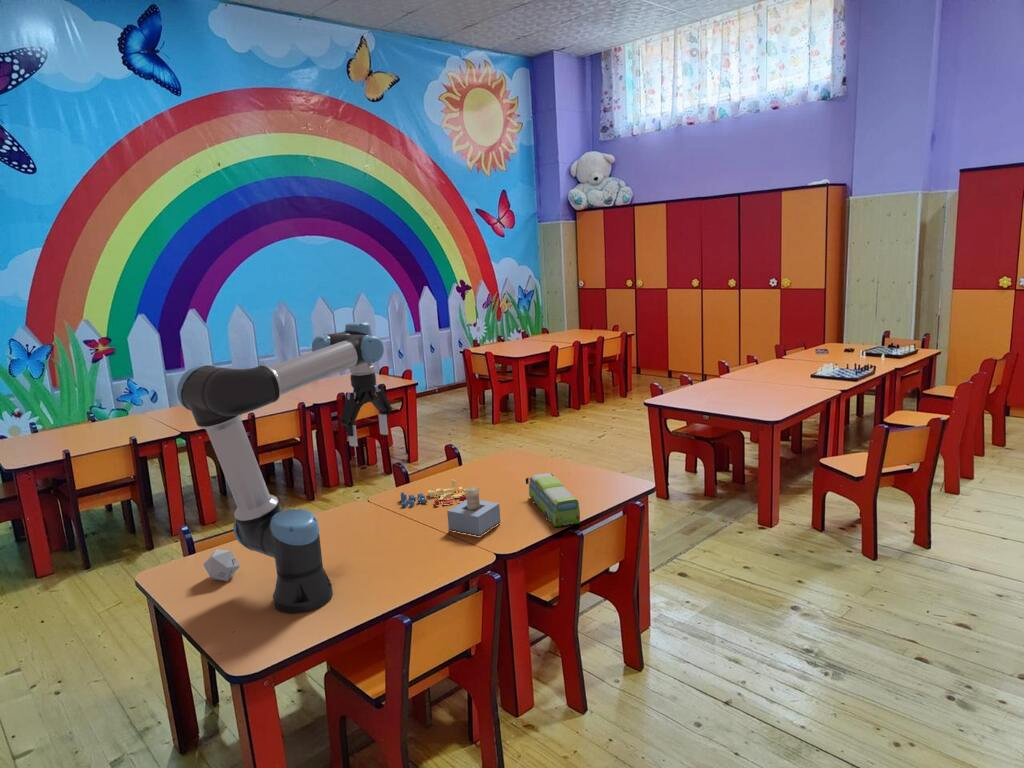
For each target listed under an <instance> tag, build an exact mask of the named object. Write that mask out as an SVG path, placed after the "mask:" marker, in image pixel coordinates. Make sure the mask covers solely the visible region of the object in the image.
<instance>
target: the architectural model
mask: <svg viewBox="0 0 1024 768" xmlns="http://www.w3.org/2000/svg"><path fill="white" fill-rule="evenodd" d="M458 488H459V489H464V491H459V494H453V495H451V493H454V492H455V490H456V491H457V481H456V480H455V479H451V487H450V488H449V487H448V488H445V489H444V488H442V487H441V488H440V487H438V488H435V489H433V488H430V490H427V496H428V495H429V496H430V497H435V493H436V494H437V496H440V495H441V496H440V498H439V500H444V499H447V498H454V497H458V496H460V497H459V501H464V500H467V496H466V495H464V496H463V495H461V494H464V493H465V492H466V489H467V488H468V487H467V488H463V487H462V486H459V487H458ZM461 492H462V493H461ZM463 492H464V493H463ZM460 493H461V494H460ZM429 496H428V497H429ZM418 497H420V498H418ZM430 497H429V498H430ZM422 498H424V499H422ZM410 499H411V500H410ZM416 499H417V500H416ZM413 500H416V501H417V504H418V503H420V502H422V503H428V498H426V497H425V495H424V494H423V492H422V493H421V492H420V493H417V498H416V496H415V495H414V494H409V495H408V498H407V493H404V492H402V491H401V492H400V501H401V503H400V505H401V506H400V508H401V507H402V508H401V509H404V508H405V507H406V508H407V507H408V506H414V505H416V504H415V501H413ZM442 502H443V503H442V504H450V503H453V504H454V502H453V500H446V501H442ZM422 503H420V504H422ZM434 503H435V504H434ZM408 504H409V505H408ZM433 504H434V506H435V505H439V506H440V502H439V501H438V500H437V499H434V501H433ZM403 507H404V508H403ZM414 507H415V506H414Z"/></svg>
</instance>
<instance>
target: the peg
mask: <svg viewBox="0 0 1024 768" xmlns="http://www.w3.org/2000/svg"><path fill="white" fill-rule="evenodd" d="M465 489H466V488H465ZM479 492H480V490H479V487H478V486H471V487H467V489H466V495H465V496H467V508H468V510H470V511H475V512H476V511H477V510H479V509H480V501H479V500H480V493H479Z"/></svg>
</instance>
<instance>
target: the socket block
mask: <svg viewBox="0 0 1024 768" xmlns="http://www.w3.org/2000/svg"><path fill="white" fill-rule="evenodd" d="M479 501H480V509H479V510H477V511H476V512H475V511H470V510H468V508H467V500H465V501H463V502H462V503H457V504H455V506H453V507H451V508H450V509H447V511H446V514H447V526H448V531H449V530H451V531H456V532H460V533H466V534H471V535H476V536H481V535H482V534H484V533H485V532H487V531H488V530H490V529H491V528H492V527H494V526H496V525H497V524H499V523H501V510H500V508H501V507H500V503H499V502H492V501H487V500H482V499H479Z"/></svg>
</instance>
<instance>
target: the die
mask: <svg viewBox="0 0 1024 768" xmlns="http://www.w3.org/2000/svg"><path fill="white" fill-rule="evenodd" d="M202 565H203V567H204V569H205V570H206V573H207V574H208V576H209V577H210V578H211V580H212V581H213V580H214V581H215V580H216V581H222V582H228V581H229V580H230V579H231V578H232V576H233V575H234V574H235V573H236V572H237V570H238V569H239V568H240V566H241V565H240V563H239V562H238V560H237V558H236V556H235V555H234V553H233V552H232V550H227V549H219V548H216V549H215V550H214V551H213V552H212V553H211V555H210V556H209V557H208V558H207V559H206V560H205V562H203V564H202Z"/></svg>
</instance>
